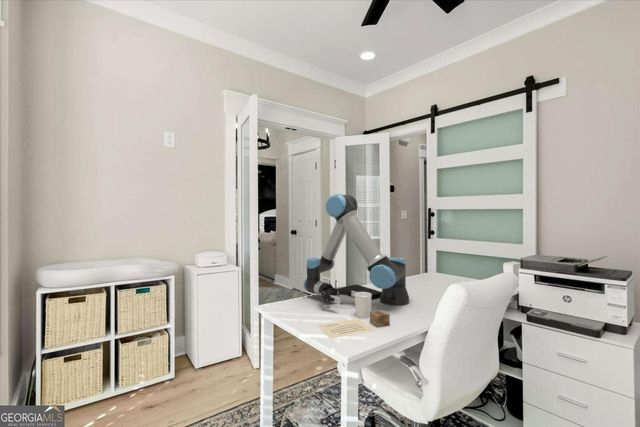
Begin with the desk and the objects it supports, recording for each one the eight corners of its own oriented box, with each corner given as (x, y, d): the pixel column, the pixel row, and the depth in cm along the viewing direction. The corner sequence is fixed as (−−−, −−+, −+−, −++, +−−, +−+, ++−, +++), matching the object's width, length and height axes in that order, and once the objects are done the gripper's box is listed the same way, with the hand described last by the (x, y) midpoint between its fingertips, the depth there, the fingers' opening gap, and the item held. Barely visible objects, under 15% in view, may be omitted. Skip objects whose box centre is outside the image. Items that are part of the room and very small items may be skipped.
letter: (358, 318, 139) (358, 318, 139) (375, 330, 125) (375, 330, 125) (316, 325, 132) (316, 324, 132) (330, 339, 118) (330, 338, 118)
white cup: (353, 312, 147) (353, 291, 147) (370, 312, 147) (370, 291, 147) (355, 318, 139) (355, 296, 139) (373, 318, 139) (372, 296, 139)
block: (382, 321, 136) (381, 310, 136) (389, 326, 130) (389, 314, 130) (369, 323, 134) (369, 311, 134) (377, 328, 128) (377, 316, 128)
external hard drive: (356, 289, 192) (356, 284, 191) (384, 297, 172) (384, 292, 172) (338, 292, 184) (338, 287, 184) (365, 302, 164) (365, 296, 164)
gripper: (304, 286, 160) (329, 295, 143) (341, 279, 174) (368, 286, 157) (304, 300, 160) (330, 311, 143) (341, 292, 175) (368, 301, 157)
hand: (350, 298), depth 150 cm, fingers open, 13 cm apart
